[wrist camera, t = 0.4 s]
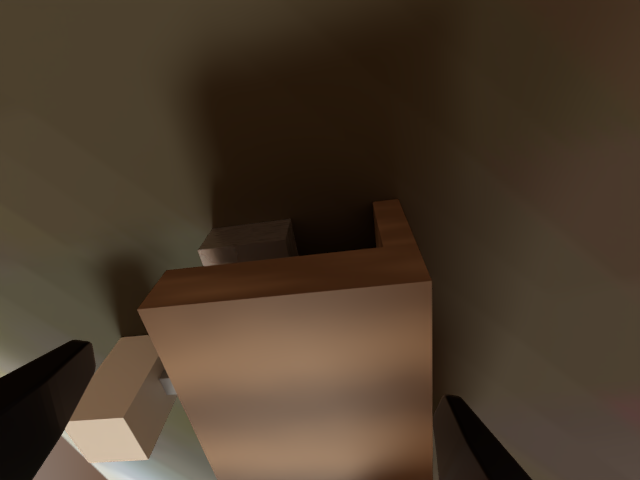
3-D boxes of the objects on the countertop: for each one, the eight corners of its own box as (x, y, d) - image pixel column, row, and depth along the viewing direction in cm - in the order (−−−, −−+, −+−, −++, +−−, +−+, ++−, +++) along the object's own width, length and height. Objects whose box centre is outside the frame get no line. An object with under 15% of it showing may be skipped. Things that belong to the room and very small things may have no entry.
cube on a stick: (338, 359, 28) (340, 449, 22) (140, 374, 29) (88, 462, 23) (332, 318, 26) (331, 404, 20) (121, 337, 27) (59, 422, 21)
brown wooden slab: (406, 369, 28) (432, 487, 20) (253, 380, 29) (225, 496, 22) (398, 198, 21) (432, 281, 14) (202, 222, 23) (136, 309, 15)
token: (305, 283, 25) (301, 311, 22) (234, 291, 25) (222, 319, 23) (291, 217, 23) (285, 239, 20) (213, 226, 23) (197, 250, 20)
